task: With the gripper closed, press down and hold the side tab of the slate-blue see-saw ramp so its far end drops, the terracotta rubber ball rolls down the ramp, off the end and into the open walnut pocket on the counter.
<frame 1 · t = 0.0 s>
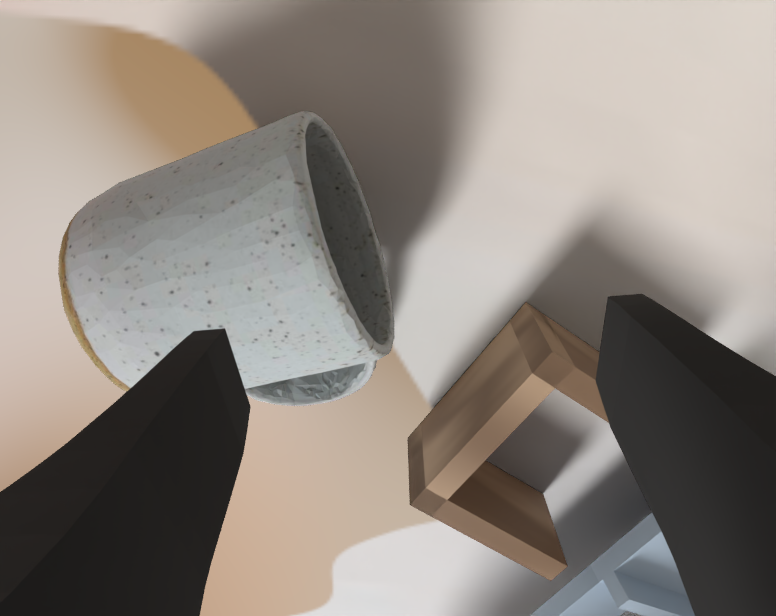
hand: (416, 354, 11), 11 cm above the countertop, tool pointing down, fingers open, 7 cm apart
ceramic mug: (288, 263, 21), on the countertop
pocket: (527, 414, 24), on the countertop
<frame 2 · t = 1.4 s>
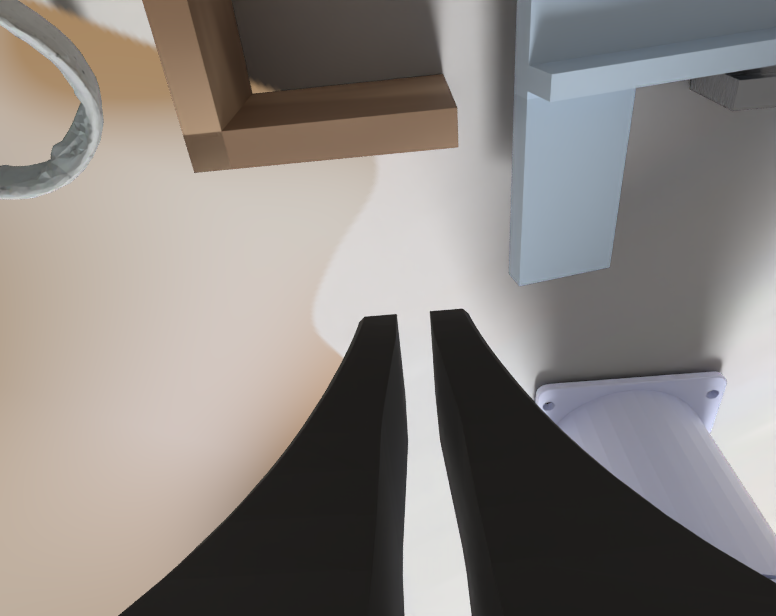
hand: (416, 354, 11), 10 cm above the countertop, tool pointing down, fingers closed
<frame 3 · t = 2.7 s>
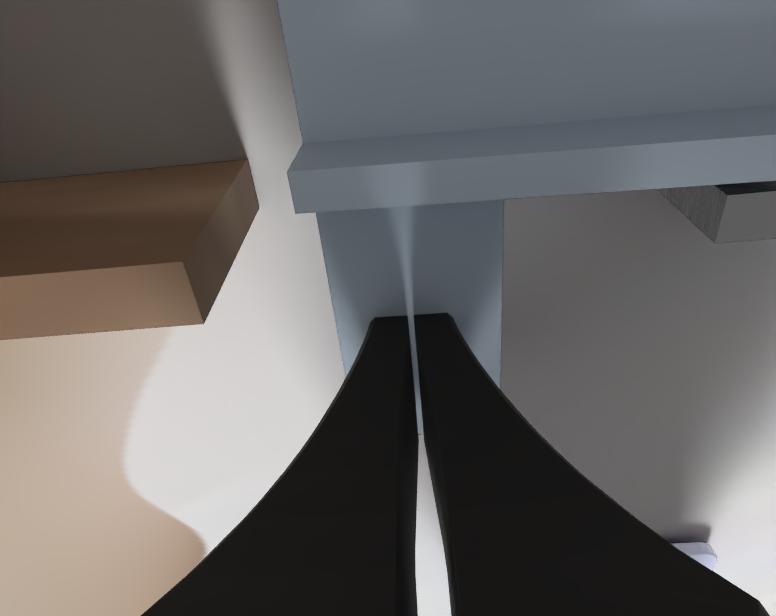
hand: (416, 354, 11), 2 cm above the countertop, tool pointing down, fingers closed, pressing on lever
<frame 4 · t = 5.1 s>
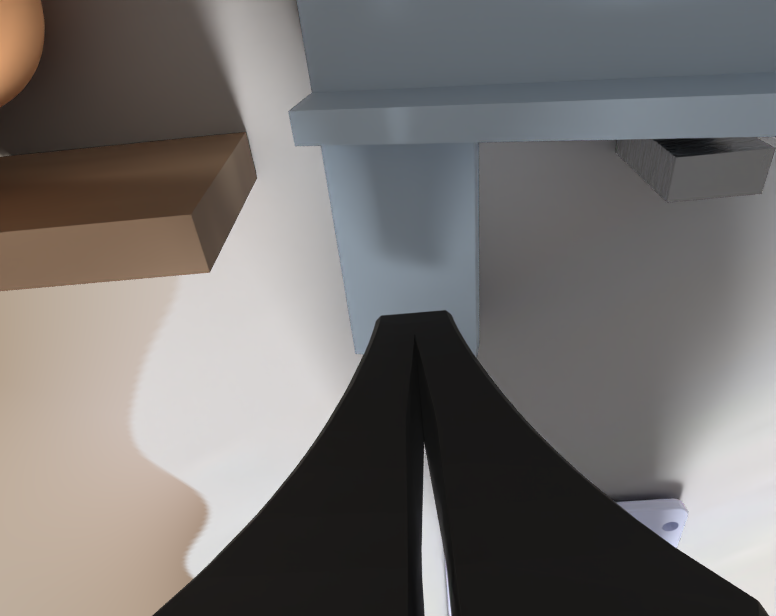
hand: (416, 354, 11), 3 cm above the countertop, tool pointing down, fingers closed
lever: (733, 113, 8), point 3 cm above the countertop, hinge at -13.7°
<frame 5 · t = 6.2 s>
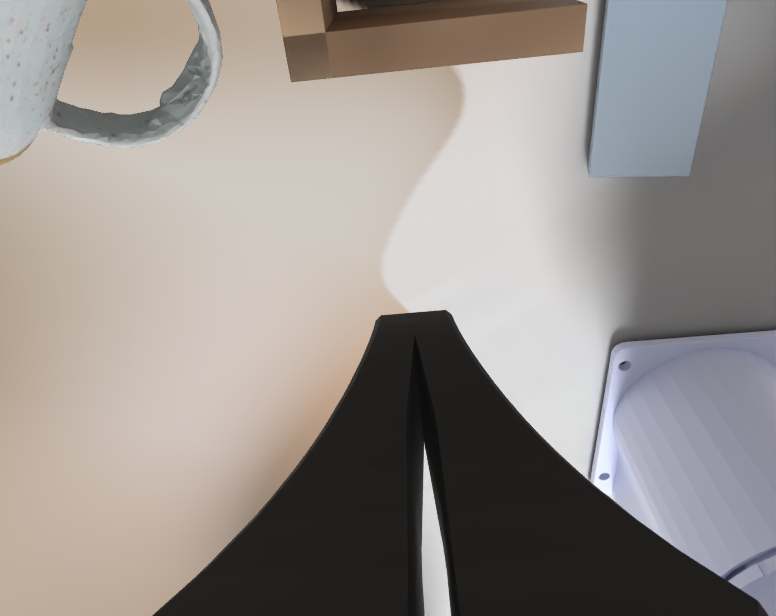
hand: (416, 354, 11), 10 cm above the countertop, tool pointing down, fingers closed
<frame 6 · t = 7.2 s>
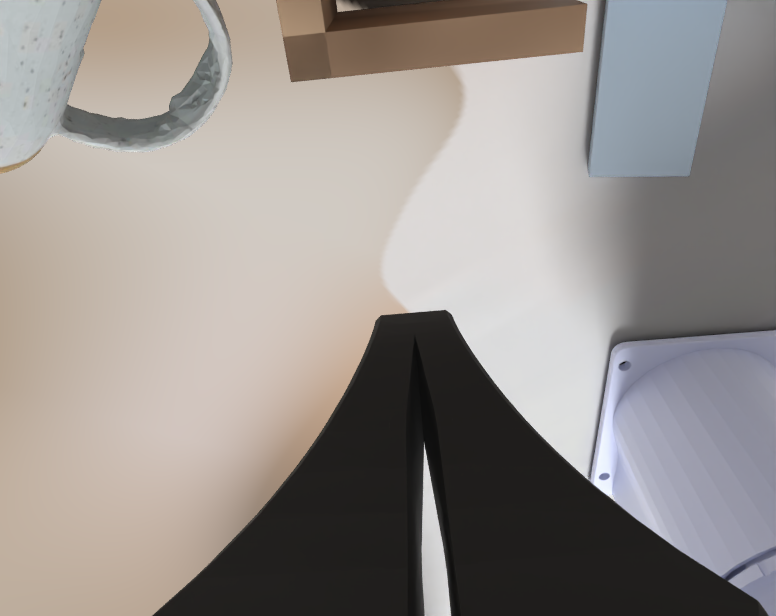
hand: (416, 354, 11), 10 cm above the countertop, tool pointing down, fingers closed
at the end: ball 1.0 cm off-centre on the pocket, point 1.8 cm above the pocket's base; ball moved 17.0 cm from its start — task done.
